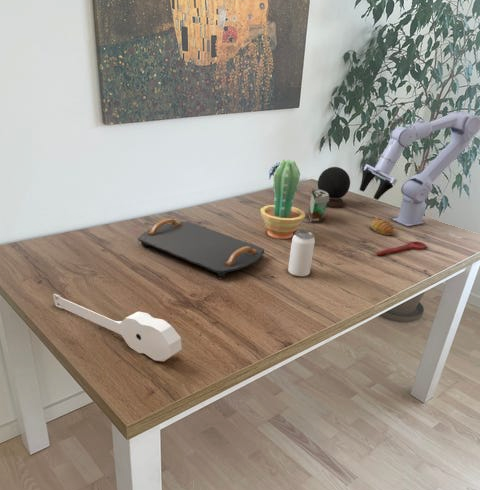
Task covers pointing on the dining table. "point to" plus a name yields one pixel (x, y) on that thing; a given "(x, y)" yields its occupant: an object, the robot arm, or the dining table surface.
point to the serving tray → (201, 246)
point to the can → (301, 253)
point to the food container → (317, 205)
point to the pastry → (382, 226)
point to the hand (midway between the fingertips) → (368, 194)
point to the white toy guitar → (134, 330)
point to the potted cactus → (283, 201)
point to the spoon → (403, 248)
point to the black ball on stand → (334, 185)
